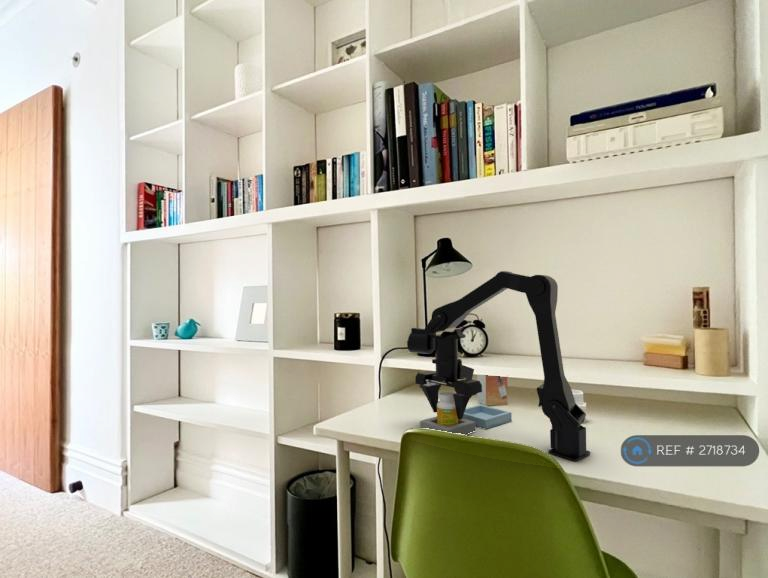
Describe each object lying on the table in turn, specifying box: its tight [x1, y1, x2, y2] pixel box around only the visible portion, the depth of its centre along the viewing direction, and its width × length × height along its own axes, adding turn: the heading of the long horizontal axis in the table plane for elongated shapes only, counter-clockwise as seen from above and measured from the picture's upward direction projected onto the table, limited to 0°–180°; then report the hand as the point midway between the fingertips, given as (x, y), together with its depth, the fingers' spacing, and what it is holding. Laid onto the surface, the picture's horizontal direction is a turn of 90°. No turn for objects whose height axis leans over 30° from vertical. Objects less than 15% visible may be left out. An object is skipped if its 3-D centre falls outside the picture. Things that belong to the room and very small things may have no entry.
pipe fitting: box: [571, 389, 587, 411], centre depth 118 cm, size 6×7×8 cm
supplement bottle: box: [436, 391, 458, 427], centre depth 111 cm, size 5×5×10 cm
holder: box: [419, 416, 477, 435], centre depth 111 cm, size 10×10×2 cm
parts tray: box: [463, 404, 513, 430], centre depth 119 cm, size 11×11×2 cm
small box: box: [476, 374, 509, 407], centre depth 138 cm, size 8×6×10 cm
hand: (447, 415), depth 111 cm, fingers open, 8 cm apart
